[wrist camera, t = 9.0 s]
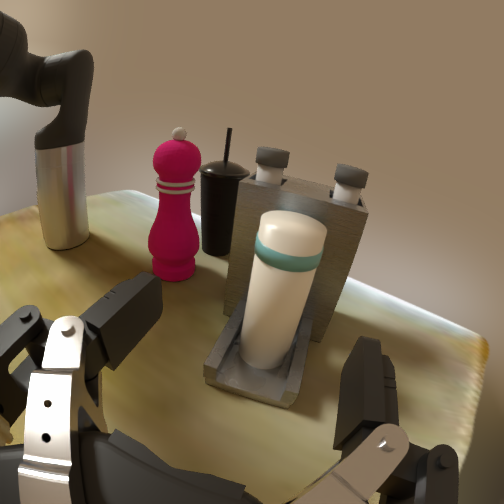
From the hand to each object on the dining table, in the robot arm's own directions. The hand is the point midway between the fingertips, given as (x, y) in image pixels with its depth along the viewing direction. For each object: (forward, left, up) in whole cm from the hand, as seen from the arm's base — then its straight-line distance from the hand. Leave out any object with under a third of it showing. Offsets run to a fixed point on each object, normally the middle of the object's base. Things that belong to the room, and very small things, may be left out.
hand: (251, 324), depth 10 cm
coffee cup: (0, +11, -14) cm, 18 cm away
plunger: (-4, +19, -2) cm, 20 cm away
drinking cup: (-13, +30, -15) cm, 36 cm away
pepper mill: (-16, +21, -15) cm, 31 cm away
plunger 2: (+4, +19, -2) cm, 20 cm away
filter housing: (0, +14, -15) cm, 21 cm away
